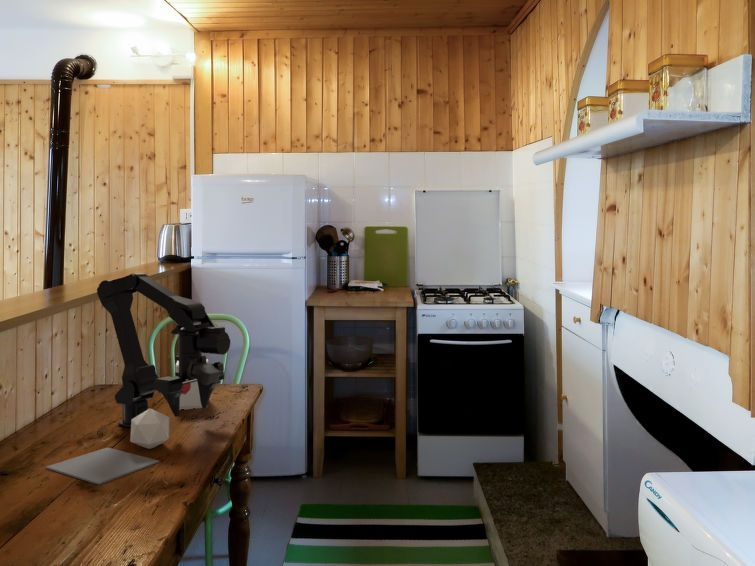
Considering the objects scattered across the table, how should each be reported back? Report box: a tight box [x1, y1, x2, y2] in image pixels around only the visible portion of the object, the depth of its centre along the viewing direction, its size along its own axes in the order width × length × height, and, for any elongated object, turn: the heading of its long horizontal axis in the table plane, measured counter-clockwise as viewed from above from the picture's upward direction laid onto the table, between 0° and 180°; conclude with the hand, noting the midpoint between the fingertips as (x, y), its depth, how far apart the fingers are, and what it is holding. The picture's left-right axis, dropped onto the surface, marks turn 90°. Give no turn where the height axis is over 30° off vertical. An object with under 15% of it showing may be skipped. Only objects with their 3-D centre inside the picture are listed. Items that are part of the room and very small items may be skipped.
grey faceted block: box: [129, 408, 170, 450], centre depth 142 cm, size 8×9×10 cm
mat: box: [45, 447, 160, 486], centre depth 131 cm, size 18×15×1 cm
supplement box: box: [174, 358, 209, 411], centre depth 175 cm, size 9×9×15 cm
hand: (190, 412), depth 153 cm, fingers open, 9 cm apart
